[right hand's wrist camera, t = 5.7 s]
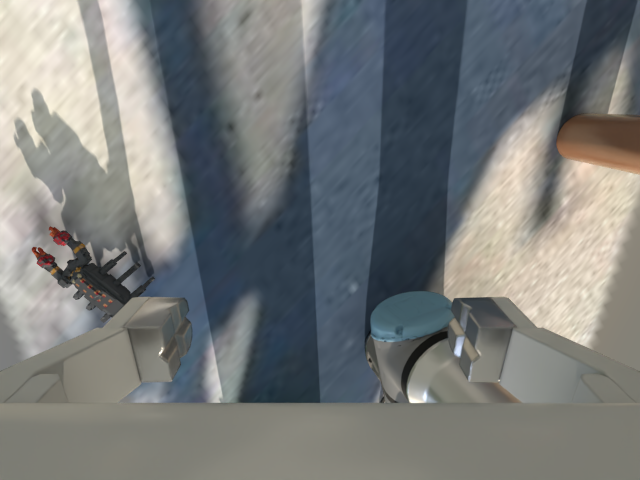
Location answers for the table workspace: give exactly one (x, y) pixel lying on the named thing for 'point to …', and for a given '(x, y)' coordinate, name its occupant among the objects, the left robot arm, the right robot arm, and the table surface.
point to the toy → (90, 276)
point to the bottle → (602, 140)
